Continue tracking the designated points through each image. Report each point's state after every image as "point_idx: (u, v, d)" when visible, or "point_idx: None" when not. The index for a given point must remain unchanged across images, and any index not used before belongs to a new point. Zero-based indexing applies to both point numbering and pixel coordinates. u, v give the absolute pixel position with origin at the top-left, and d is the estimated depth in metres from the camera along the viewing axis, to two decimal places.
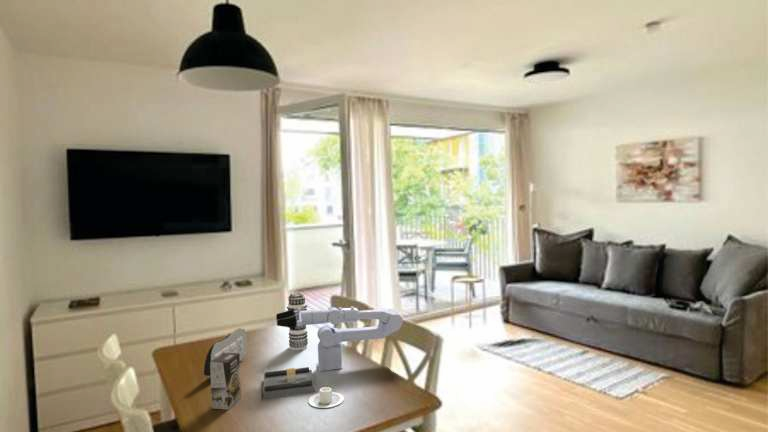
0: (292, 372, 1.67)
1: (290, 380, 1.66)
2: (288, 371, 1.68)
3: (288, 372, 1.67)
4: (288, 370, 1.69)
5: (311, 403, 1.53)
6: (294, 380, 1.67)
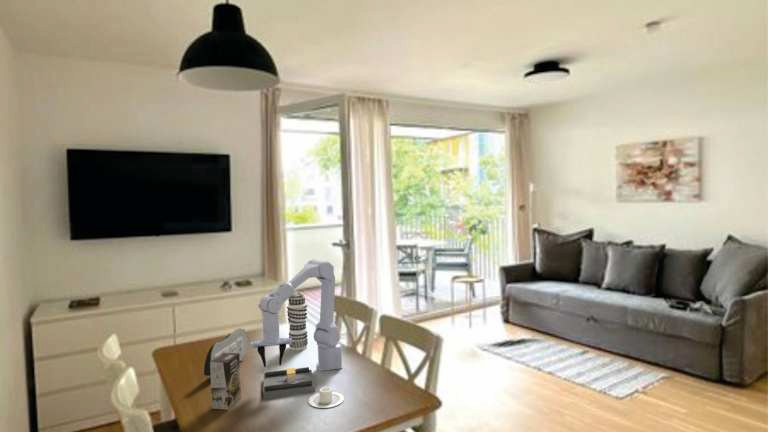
0: (292, 372, 1.67)
1: (290, 380, 1.66)
2: (288, 371, 1.68)
3: (288, 372, 1.67)
4: (288, 370, 1.69)
5: (311, 403, 1.53)
6: (294, 380, 1.67)
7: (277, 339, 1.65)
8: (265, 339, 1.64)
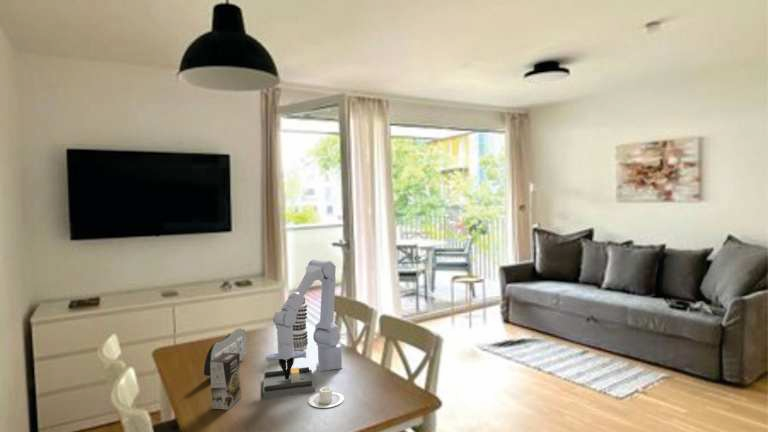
0: (295, 371, 1.68)
1: (293, 380, 1.67)
2: (292, 371, 1.69)
3: (292, 372, 1.68)
4: (292, 370, 1.70)
5: (311, 403, 1.53)
6: (298, 380, 1.67)
7: (291, 352, 1.67)
8: (280, 353, 1.66)
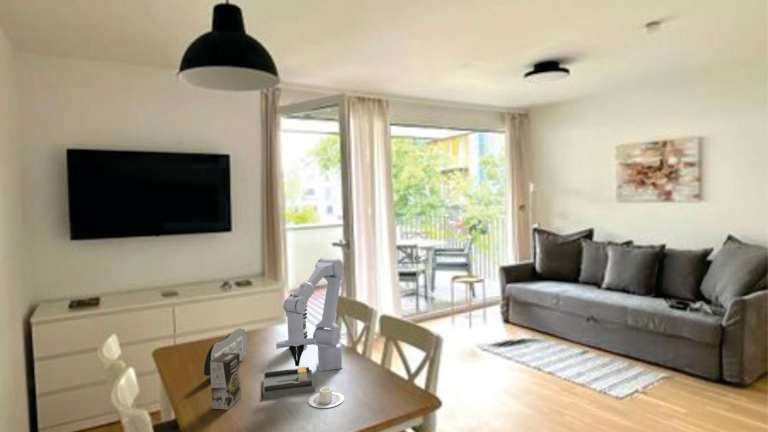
0: (303, 370, 1.68)
1: (301, 379, 1.67)
2: (299, 370, 1.69)
3: (299, 371, 1.68)
4: (299, 369, 1.70)
5: (311, 403, 1.53)
6: (305, 379, 1.68)
7: (302, 339, 1.67)
8: (290, 339, 1.66)
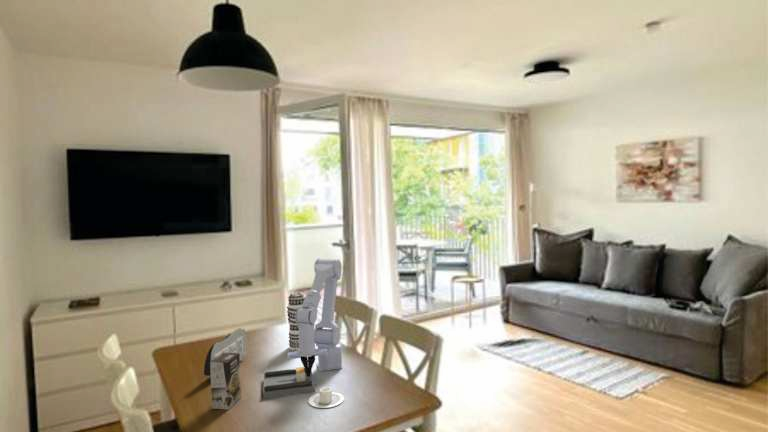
0: (301, 371, 1.68)
1: (299, 379, 1.67)
2: (297, 370, 1.69)
3: (297, 371, 1.68)
4: (297, 369, 1.70)
5: (311, 403, 1.53)
6: (303, 379, 1.68)
7: (313, 350, 1.68)
8: (302, 350, 1.67)
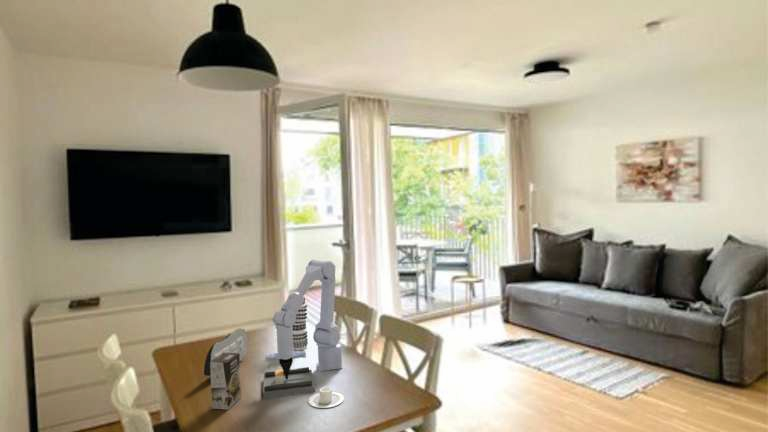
0: (280, 373, 1.66)
1: (278, 382, 1.65)
2: (276, 372, 1.67)
3: (276, 373, 1.66)
4: (276, 371, 1.68)
5: (311, 403, 1.53)
6: (282, 381, 1.66)
7: (291, 352, 1.67)
8: (279, 353, 1.66)
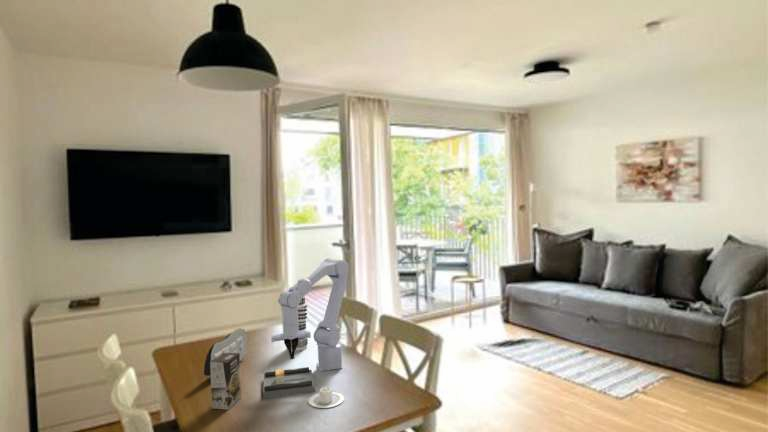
0: (280, 373, 1.66)
1: (278, 382, 1.65)
2: (277, 372, 1.67)
3: (277, 373, 1.66)
4: (277, 371, 1.68)
5: (311, 403, 1.53)
6: (283, 381, 1.66)
7: (296, 333, 1.71)
8: (285, 333, 1.70)
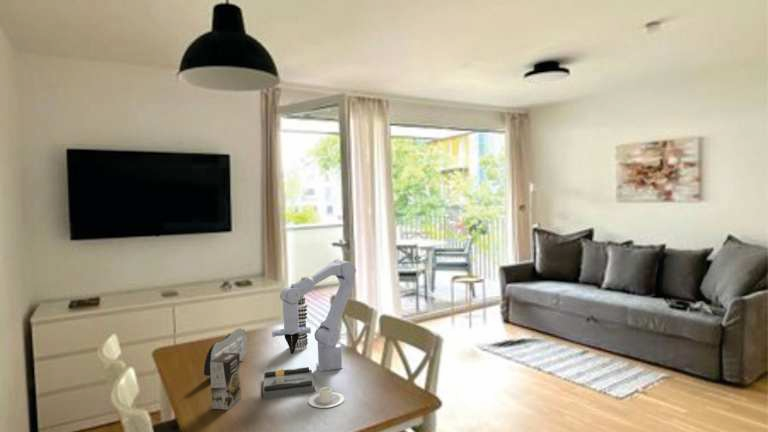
0: (280, 373, 1.66)
1: (278, 382, 1.65)
2: (277, 372, 1.67)
3: (277, 373, 1.66)
4: (277, 371, 1.68)
5: (311, 403, 1.53)
6: (283, 381, 1.66)
7: (297, 328, 1.75)
8: (285, 328, 1.74)
